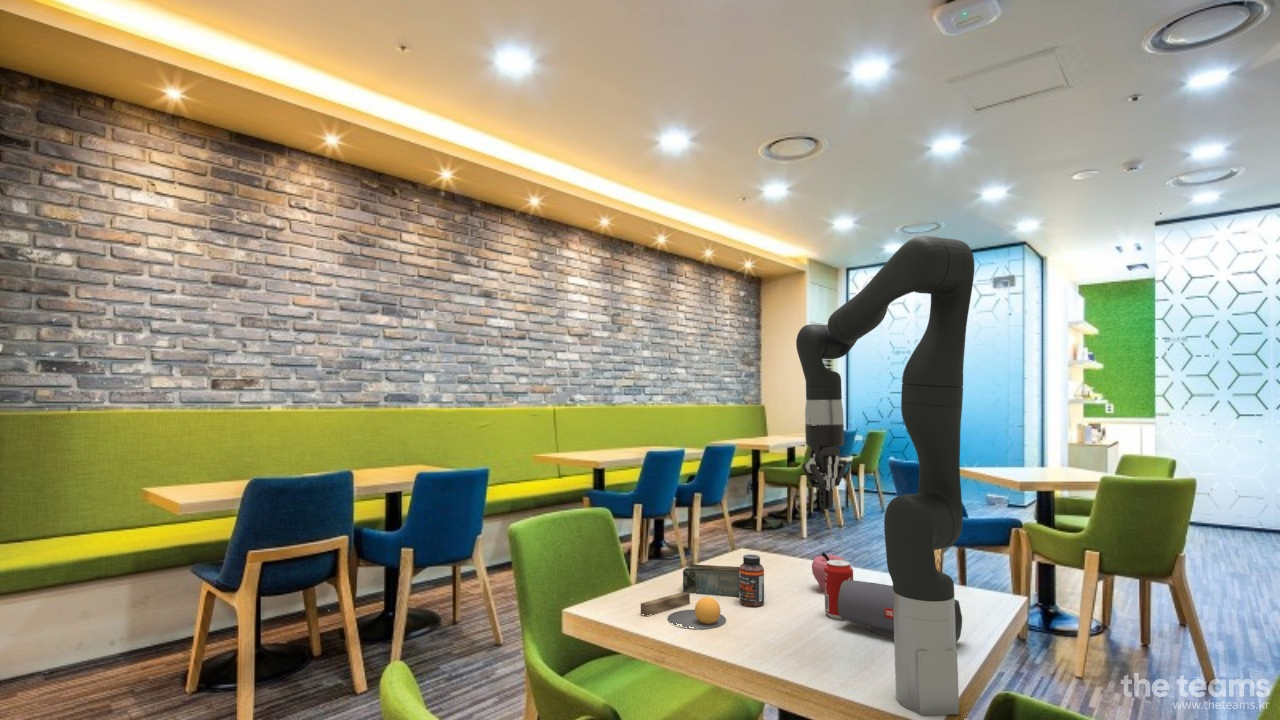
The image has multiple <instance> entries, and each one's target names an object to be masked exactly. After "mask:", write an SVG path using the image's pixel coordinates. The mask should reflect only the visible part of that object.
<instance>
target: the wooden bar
mask: <svg viewBox="0 0 1280 720" xmlns="http://www.w3.org/2000/svg"><path fill="white" fill-rule="evenodd" d="M690 597H691V593H686V592H683V591H682V592H679V593H674V594H670V595H667V596H663V597H659V598H657V599H652V600H649V601H648V600H647V601H645V602H644V601H643V602H641V603H640V615H641V614H644V615H646V616H647V615H650V614H654V613H658V614H660V613H659V612H661V613H664V612H667V611H666V610H668V611H671V610H674V609H673V608H675V609H678V608H681V606H682V607H685V606H688V605H691V598H690ZM684 605H685V606H684ZM677 607H678V608H677ZM670 609H671V610H670ZM663 611H664V612H663ZM654 615H655V614H654ZM646 616H645V617H646ZM647 617H648V616H647Z"/></svg>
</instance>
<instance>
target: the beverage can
mask: <svg viewBox="0 0 1280 720" xmlns="http://www.w3.org/2000/svg"><path fill="white" fill-rule="evenodd" d="M845 580H854V569H853V568H852V566H851V562H849V561H846V560H844V561H843V560H829V561H827V565H826V566H825V567H824V585H825V591H824V611H825V613H826V614H827V615H828V617H829V616H830V618H831V617H832V618H831V619H834V618H836V619H835V620H839V619H842V618H841V617H840V615H839V612H838V607H837V604H838V597H839V591H840V587H841V584H842V583H843V582H844V581H845ZM844 621H846V620H845V619H844Z"/></svg>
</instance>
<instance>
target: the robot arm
mask: <svg viewBox="0 0 1280 720" xmlns="http://www.w3.org/2000/svg"><path fill="white" fill-rule="evenodd" d="M974 276H975V258H974V253H973V251H972V249H971V247H970V246H969V245H968V243H966V242H964V241H962V240H959V239H956V238H955V239H954V238H946V237H938V236H928V235H923V236H921V235H920V236H915V237H913V238H911V239H909V240H908V241H906V242H905V243H904V244H902V245H901V246H900V247H899V248H898V249H897V251H895V253H893V255H892V256H891V257H890V258H889V259H888V261H887V262H886V263H885V264H884V265H883V266H881V269H880V270H878V272H876V274H875V275H874V276H873V277H872V278H871V280H870V281H869V282H868V283H867V284H866V285H865V286H864V287H863V288H862V289H861V290H860V291H859V292H858V293H856V294H855V295H854V296H853V297H852V298H851V299H849V300H848V301H847V302H845V303H844V304H842V305H841V306H840V307H838V308H837V309H835V311H834V312H833V313H832V314H831V315H830V316H829V318H828V320H827V324H812V323H811V324H805V325H804V326H802V327H801V329H799V331H798V332H797V335H796V336H797V337H796V340H795V341H796V343H795V345H796V351H797V355H798V358H799V362H800V365H801V367H802V368H801V369H802V371H803V376H804V380H805V409H804V410H805V411H804V420H805V421H804V423H805V425H804V426H805V427H804V428H805V429H804V430H805V432H804V433H805V444H806V446H809V447H810V452H809V460H808V462H807V463H806V462H804V463H803V464H802V465H801V467H802V469H803V472H804V474H805V476H806V478H807V479H808V482H809V483H810V486H811V487H812V488H816V489H817V490H818V504H819V509H821V510H832V509H834V490H835V489H836V487H838V486H840V483H841V481H842V479H843V475H844V473H845V471H846V467H847V465H848V461H847V460H843V459H842V458H841V452H840V448H839V447H843V446H844V445H845V432H844V431H845V425H844V424H845V423H844V422H845V421H844V420H845V419H844V408H843V402H842V401H843V399H842V397H843V396H842V395H843V394H842V377H841V374H840V373H838V372H837V371H835V370H831V369H828V368H827V367H826V366H825V364H824V360H837V359H840V358H843V357H845V356H846V355H847V354H848V353H849V352H850V350H851V349H852V348H853V346H855V344H856V343H857V341H858V340H859V339H861V338H863V337H864V336H865V335H868V333H870V332H872V331H873V330H875V329H876V328H877V327H878V326H879V325H880V324H881V323H882V322H883V320H884V319H885V316H886V315H887V312H888V308H889V306H890V304H891V303H893V302H894V301H897V299H899V298H902V297H904V296H905V295H908V294H911V293H917V294H927V295H929V294H930V307H929V317H928V323H927V326H926V328H925V329H926V330H925V331H924V333H923V335H922V337H921V339H920V341H919V343H917V345H916V346H915V348H914V350H913V352H912V354H911V355H910V357H909V358H908V361H906V362H907V363H906V365H905V367H904V369H903V372H902V377H901V378H902V379H901V383H902V384H901V395H900V396H901V397H900V398H901V401H900V405H901V406H900V408H901V410H900V411H901V417H902V420H903V424H904V426H905V428H906V432H907V433H908V435H909V437H910V440H911V442H912V444H913V446H914V449H915V451H916V452H915V453H916V455H917V458H918V459H917V460H918V467H919V469H918V470H919V471H918V473H919V474H918V475H919V476H918V488H917V493H908V494H902V495H898V496H896V497H893V498H892V499H891V500H890V501H889V503H888V504H887V506H886V509H885V513H884V519H883V521H884V523H883V528H884V530H883V531H884V541H885V543H884V544H885V556H886V566H887V570H888V574H889V576H890V578H891V582H892V586H893V613H894V638H893V640H894V641H893V643H894V674H895V698H896V700H897V702H898V703H899V704H901V705H902V706H903V707H906V708H908V709H910V710H913V711H915V712H916V713H917V714H919V715H923V716H925V715H927V716H928V715H930V716H931V715H932V716H933V715H934V716H935V715H939V716H940V715H960V700H959V697H960V696H959V695H960V694H959V674H958V673H959V671H958V670H959V669H958V667H959V666H958V663H959V662H958V653H957V642H956V633H955V600H956V599H955V584H954V580H953V578H952V577H951V576H950V575H949V574H947V573H944V572H941V571H939V570H938V569H937V564H936V556H935V555H936V553H935V551H936V550H944V549H947V548H950V547H952V546H953V545H954V544H956V543H957V541H958V540H959V538H960V537H961V534H962V530H963V520H964V519H963V516H964V515H963V502H962V501H963V499H962V498H963V496H962V486H961V485H962V484H961V466H960V465H961V463H960V462H961V458H960V457H961V430H962V429H961V428H962V426H961V425H962V414H963V413H962V412H963V397H964V363H965V361H964V359H965V350H966V349H965V347H966V333H967V323H968V317H969V310H970V305H971V298H972V292H973V287H974V279H975V277H974ZM954 599H955V600H954Z"/></svg>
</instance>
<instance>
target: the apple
mask: <svg viewBox="0 0 1280 720" xmlns="http://www.w3.org/2000/svg"><path fill="white" fill-rule="evenodd" d="M829 560H843V561H845V558H844V557H840V556H838V555H835V554H829V555H828V554H826V553H825V552H824V551H823V552H821V555H818V556H815V557H814V559H813V561H812V562H811V571H812V575H813V576H814V579H815V581H816V583H818V586H819V587H820V589H821V590H822V591H823V592H825V585H824V567H825V566H826V565H827V561H829Z"/></svg>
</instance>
